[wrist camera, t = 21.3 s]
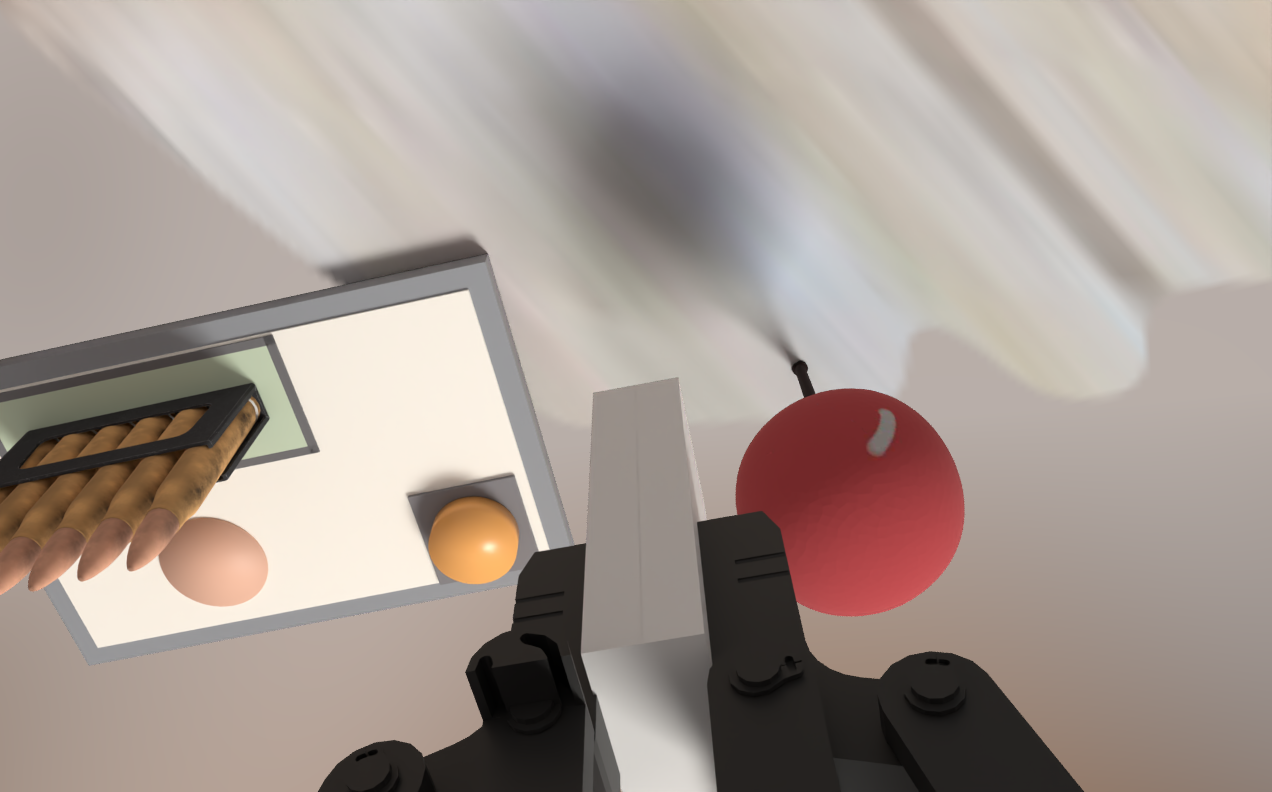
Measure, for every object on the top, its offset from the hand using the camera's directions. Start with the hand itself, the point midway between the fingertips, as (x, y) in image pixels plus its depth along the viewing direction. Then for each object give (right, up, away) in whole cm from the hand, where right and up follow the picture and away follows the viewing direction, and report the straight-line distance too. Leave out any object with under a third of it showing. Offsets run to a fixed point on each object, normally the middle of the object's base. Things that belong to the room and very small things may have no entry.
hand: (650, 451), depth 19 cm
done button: (-8, -5, +31) cm, 32 cm away
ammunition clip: (-22, 0, +28) cm, 35 cm away
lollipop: (+7, +2, +29) cm, 30 cm away
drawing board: (-17, -2, +30) cm, 35 cm away
